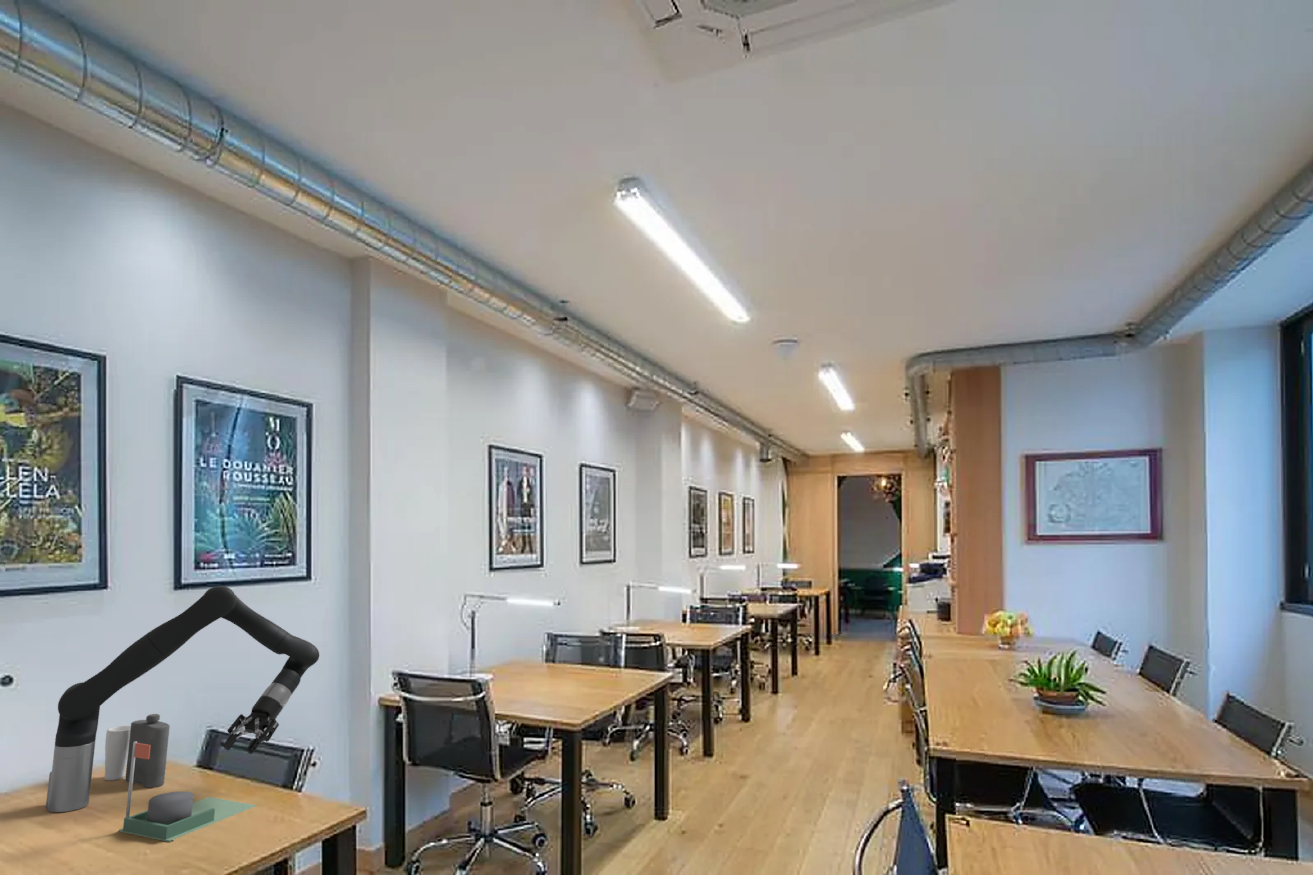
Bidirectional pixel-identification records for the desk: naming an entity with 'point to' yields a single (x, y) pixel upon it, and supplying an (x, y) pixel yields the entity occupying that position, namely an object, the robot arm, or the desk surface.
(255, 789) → the desk surface
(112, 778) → the drinking glass
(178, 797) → the grey domed cylinder
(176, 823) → the mini golf green
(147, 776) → the flask
